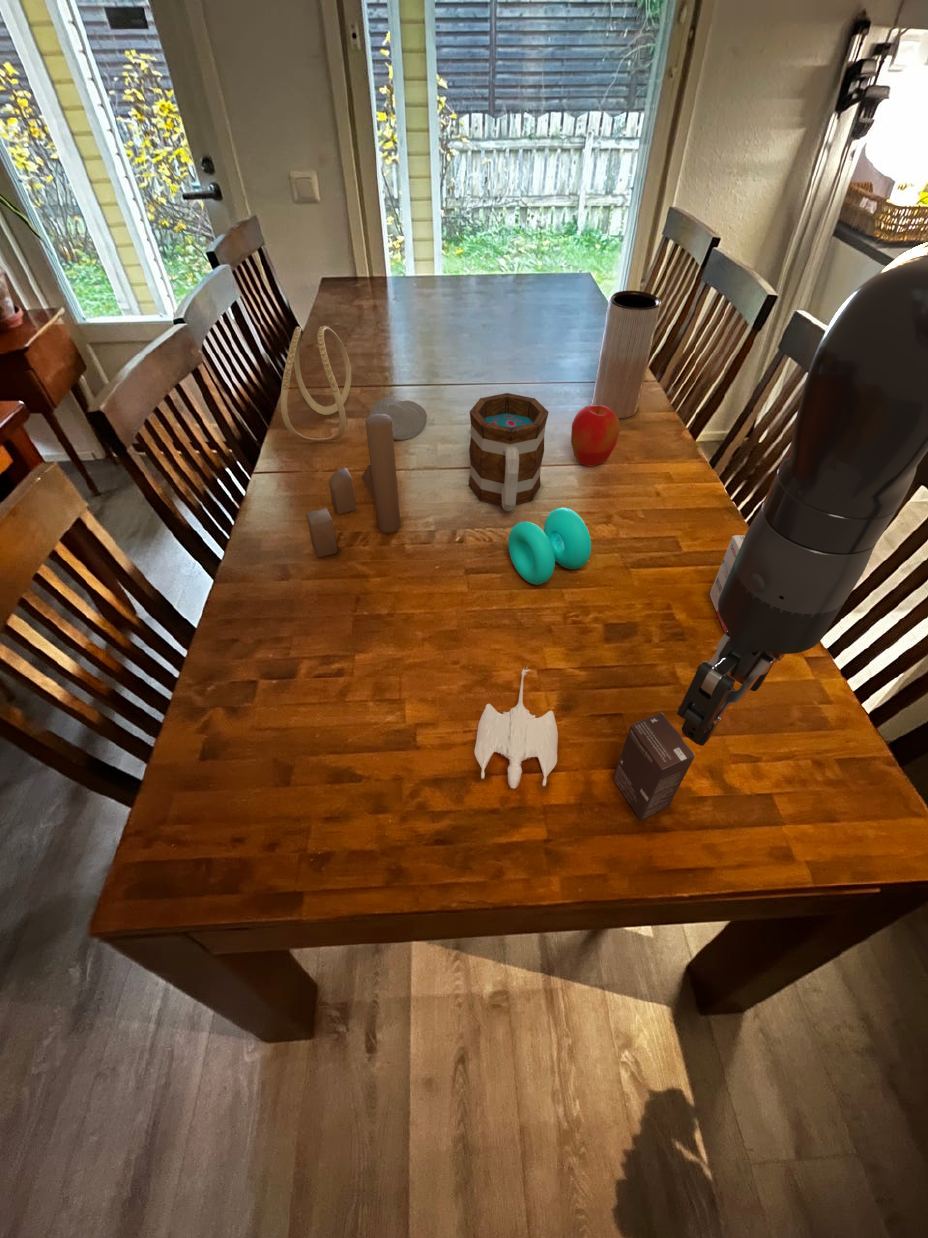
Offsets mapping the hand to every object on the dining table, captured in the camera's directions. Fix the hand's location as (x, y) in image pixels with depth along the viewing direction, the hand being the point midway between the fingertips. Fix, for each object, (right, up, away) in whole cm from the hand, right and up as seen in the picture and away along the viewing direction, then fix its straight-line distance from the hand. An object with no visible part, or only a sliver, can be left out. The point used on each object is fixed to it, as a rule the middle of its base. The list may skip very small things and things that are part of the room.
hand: (720, 709), depth 55 cm
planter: (+11, +55, +84) cm, 100 cm away
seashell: (-36, +48, +77) cm, 97 cm away
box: (-2, -13, +19) cm, 23 cm away
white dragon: (-16, -7, +24) cm, 30 cm away
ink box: (+18, +9, +40) cm, 44 cm away
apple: (+2, +39, +68) cm, 79 cm away
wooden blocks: (-43, +27, +56) cm, 75 cm away
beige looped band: (-52, +48, +77) cm, 105 cm away
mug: (-15, +31, +60) cm, 69 cm away
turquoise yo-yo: (-9, +16, +46) cm, 50 cm away
